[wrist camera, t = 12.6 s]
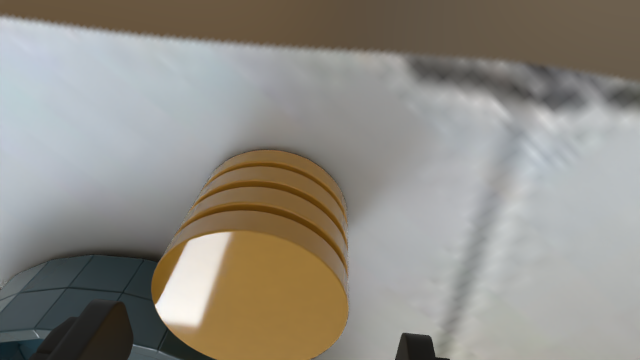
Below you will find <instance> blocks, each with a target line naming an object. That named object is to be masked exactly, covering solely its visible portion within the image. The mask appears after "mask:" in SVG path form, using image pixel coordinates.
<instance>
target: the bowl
mask: <svg viewBox="0 0 640 360" xmlns="http://www.w3.org/2000/svg"><path fill="white" fill-rule="evenodd" d="M157 264H158V262H154V261H150V260H147V259H145V260H144V259H139V258H128V257H116V256H105V255H86V256H78V257H70V258H62V259H54V260H51V261H47V262H45V263H43V264H40V265H38V266H35V267H33V268H31V269H28V270H26V271H24V272H21V273H19V274H17V275H15V276H14V277H13V278H12V279H11V280H10V281H9V282H8V283H7V284H6V285H5V286H4V287H3V288H2V289H1V290H0V360H28V359H29V358H30V357H31V356H32V354H33V353H36V351H37V348H38V347H39V346H40V344H41V343H42V342H43V341H44V340H45V338H46V337H47V336H48V335H49V333H50V332H51V331H52V330H53V329H55V328H56V327H57V326H59V325H60V324H61V323H63V322H64V321H65V320H67V319H68V318H69V317H79V316H80V314H81V313H82V312H83V310H84V309H85V308H86V306H87V305H88V304H89V303H90V302H91V301H92V300H94V299H102V300H111V301H121V302H123V303H124V304H125V307H126V310H127V314H128V317H129V321H130V324H131V328H132V332H133V336H134V341H133V347H132V350H131V353H130V356H129V358H128V360H216V359H214V358H211V357H209V356H206V355H204V354H202V353H200V352H198V351H196V350H195V349H193V348H191V347H190V346H188V345H187V344H185V343H184V342H183V341H181V340H180V339H179V338H178V337H176V336H175V335H174V334H173V333H172V332H171V331H170V330H169V329H168V328H167V326H166V325H165V324H164V323H163V321H162V320H161V318H160V317H159V315H158V313H157V311H156V309H155V306H154V303H153V300H152V293H151V284H152V277H153V273H154V270H155V268H156V266H157Z"/></svg>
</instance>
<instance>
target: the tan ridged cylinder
mask: <svg viewBox="0 0 640 360" xmlns="http://www.w3.org/2000/svg"><path fill="white" fill-rule="evenodd" d="M151 293H152V300H153V303H154V306H155V309H156V311H157V313H158V315H159V317H160V318H161V320H162V321H163V323H164V324H165V325H166V326H167V328H168V329H169V330H170V331H171V332H172V333H173V334H174V335H175V336H176V337H178V338H179V339H180V340H181V341H183V342H184V343H185V344H187V345H188V346H190V347H191V348H193V349H195V350H196V351H198V352H200V353H202V354H204V355H206V356H209V357H211V358H214V359H216V360H310V359H312V358H314V357H316V356H318V355H320V354H321V353H323V352H325V351H326V350H327V349H328V348H330V347H331V346H332V345H333V344H334V343H335V342H336V341H337V340H338V338H339V337H340V335H341V334H342V332H343V330H344V328H345V326H346V323H347V319H348V313H349V285H348V213H347V205H346V202H345V198H344V196H343V194H342V191H341V190H340V188H339V186H338V185H337V183H336V182H335V181H334V180H333V178H332V177H331V176H330V175H329V174H328V173H327V172H326V171H325V170H323V169H322V168H321V167H320V166H318V165H317V164H315V163H314V162H312V161H310V160H308V159H306V158H304V157H301V156H299V155H296V154H293V153H289V152H285V151H279V150H256V151H251V152H246V153H243V154H240V155H237V156H234V157H233V158H231V159H229V160H227V161H225V162H224V163H223V164H221V165H220V166H219V167H218V168H217V169H216V170H215V171H214V172H213V173H212V174H211V176H210V177H209V178H208V180H207V182H206V183H205V185H204V187H203V188H202V190H201V192H200V194H199V195H198V197H197V199H196V200H195V202H194V204H193V205H192V207H191V209H190V210H189V212H188V214H187V216H186V217H185V219H184V220H183V222H182V224H181V225H180V227H179V229H178V230H177V232H176V234H175V236H174V238H173V240H172V241H171V242H170V244H169V245H168V247H167V249H166V251H165V252H164V254H163V256H162V257H161V259H160V261H159V262H158V264H157V266H156V268H155V270H154V273H153V277H152V284H151Z"/></svg>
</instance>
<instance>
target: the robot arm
mask: <svg viewBox="0 0 640 360" xmlns="http://www.w3.org/2000/svg"><path fill="white" fill-rule="evenodd" d="M133 341H134V336H133V332H132V328H131V324H130V321H129V317H128V314H127V310H126V307H125V304H124V303H123V302H121V301H111V300H102V299H94V300H92V301H91V302H90V303H89V304H88V305H87V306H86V308H85V309H84V310H83V312H82V313H81V314H80V316H79V317H69V318H68V319H67V320H65V321H64V322H63V323H61V324H60V325H59V326H57V327H56V328H55V329H53V330H52V331H51V332H50V333H49V335H48V336H47V337H46V338H45V340H44V341H43V342H42V343H41V344H40V346H39V347H38V348H37V351H36V353H33V354H32V356H31V357H30V358H29V359H28V360H128V358H129V356H130V353H131V350H132V347H133ZM395 360H450V359H447V358H438V357H435V352H434V347H433V342H432V339H431V337H430V336H429V335H420V334H410V333H403V334H402V336H401V339H400V343H399V347H398V350H397V354H396V358H395Z"/></svg>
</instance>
